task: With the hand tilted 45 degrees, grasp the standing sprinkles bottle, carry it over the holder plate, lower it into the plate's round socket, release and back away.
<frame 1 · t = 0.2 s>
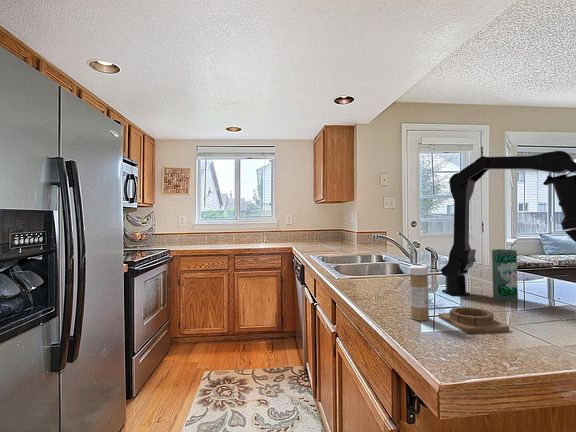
holder: (471, 323, 81), on the counter
sprinkles bottle: (419, 319, 87), on the counter
can: (505, 299, 103), on the counter
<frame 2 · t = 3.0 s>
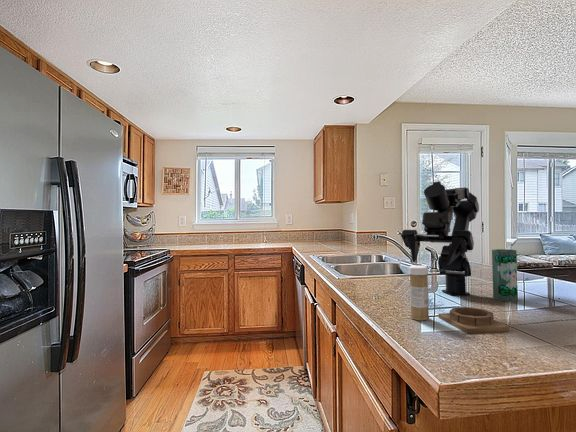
hand: (430, 262, 93), 13 cm above the counter, tool tilted 45°, fingers open, 9 cm apart
nothing on the counter moved.
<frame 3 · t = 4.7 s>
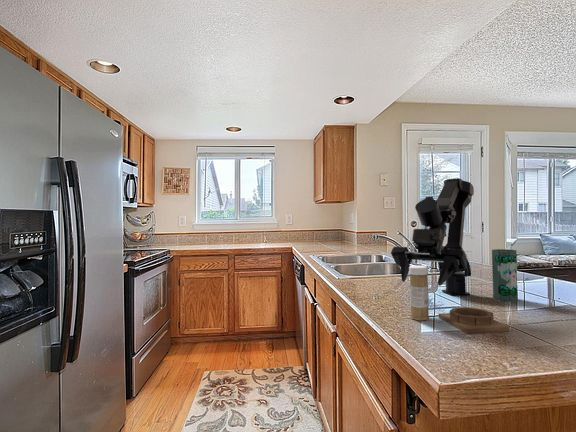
hand: (420, 282, 87), 9 cm above the counter, tool tilted 45°, fingers open, 9 cm apart
nothing on the counter moved.
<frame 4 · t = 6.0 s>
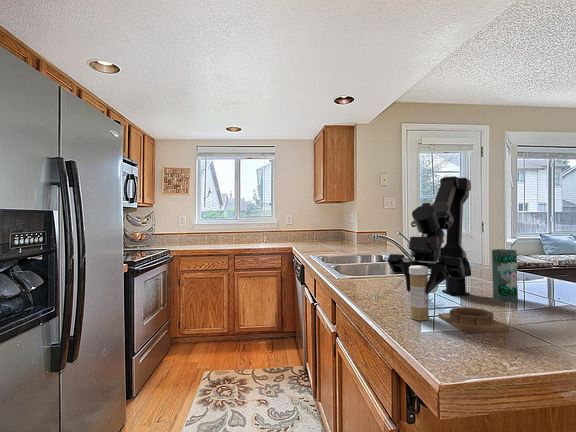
hand: (417, 292, 86), 7 cm above the counter, tool tilted 45°, fingers closed on sprinkles bottle, 4 cm apart
sprinkles bottle: (419, 319, 87), on the counter, touching gripper
everything else where it was.
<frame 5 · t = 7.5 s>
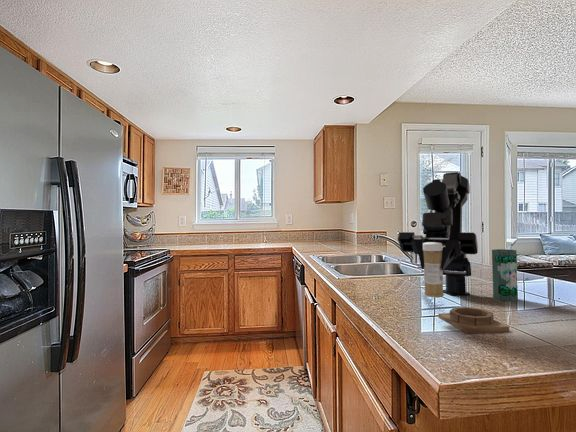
hand: (432, 268, 84), 13 cm above the counter, tool tilted 45°, fingers closed on sprinkles bottle, 4 cm apart
sprinkles bottle: (433, 296, 85), point 6 cm above the counter, touching gripper
everything else where it was.
when the fingers open (9 cm above the counter, at t = 9.4 s): sprinkles bottle stays where it is, resting on holder.
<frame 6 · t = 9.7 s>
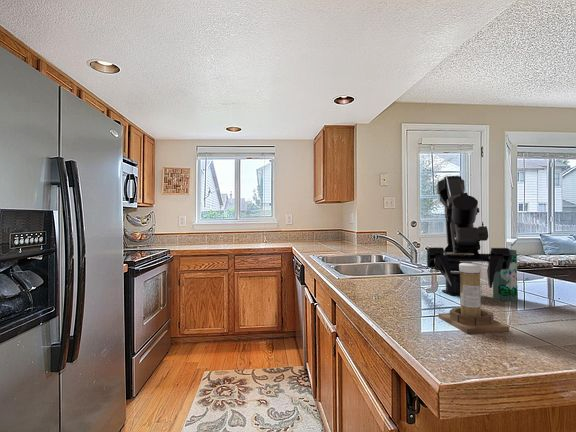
hand: (471, 286, 80), 9 cm above the counter, tool tilted 45°, fingers open, 8 cm apart
sprinkles bottle: (471, 319, 82), point 1 cm above the counter, touching holder
everything else where it was.
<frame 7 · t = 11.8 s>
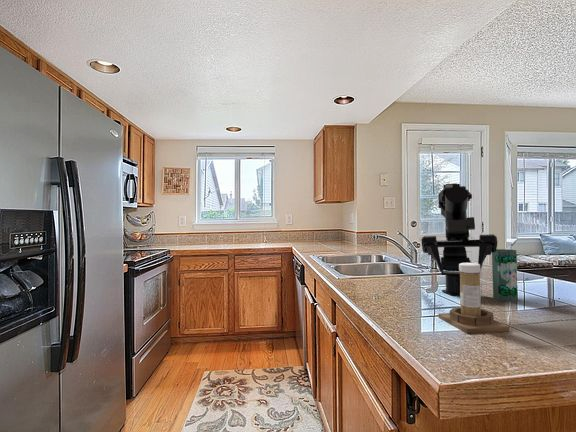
hand: (459, 271, 91), 11 cm above the counter, tool tilted 35°, fingers open, 9 cm apart
nothing on the counter moved.
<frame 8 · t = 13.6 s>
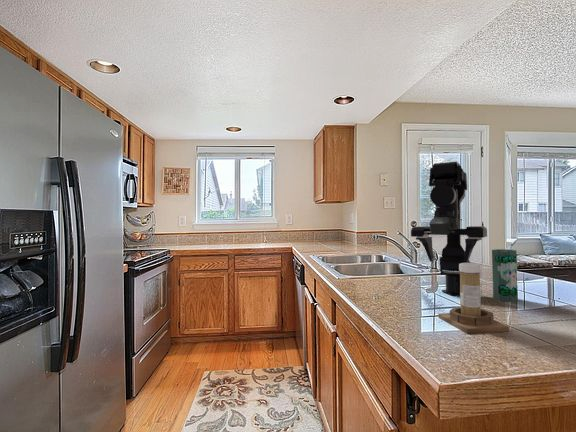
hand: (448, 262, 95), 13 cm above the counter, tool pointing down, fingers open, 9 cm apart
nothing on the counter moved.
at the end: sprinkles bottle 0.2 cm from the holder (horizontally); sprinkles bottle tilted 0°; the gripper is holding nothing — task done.
